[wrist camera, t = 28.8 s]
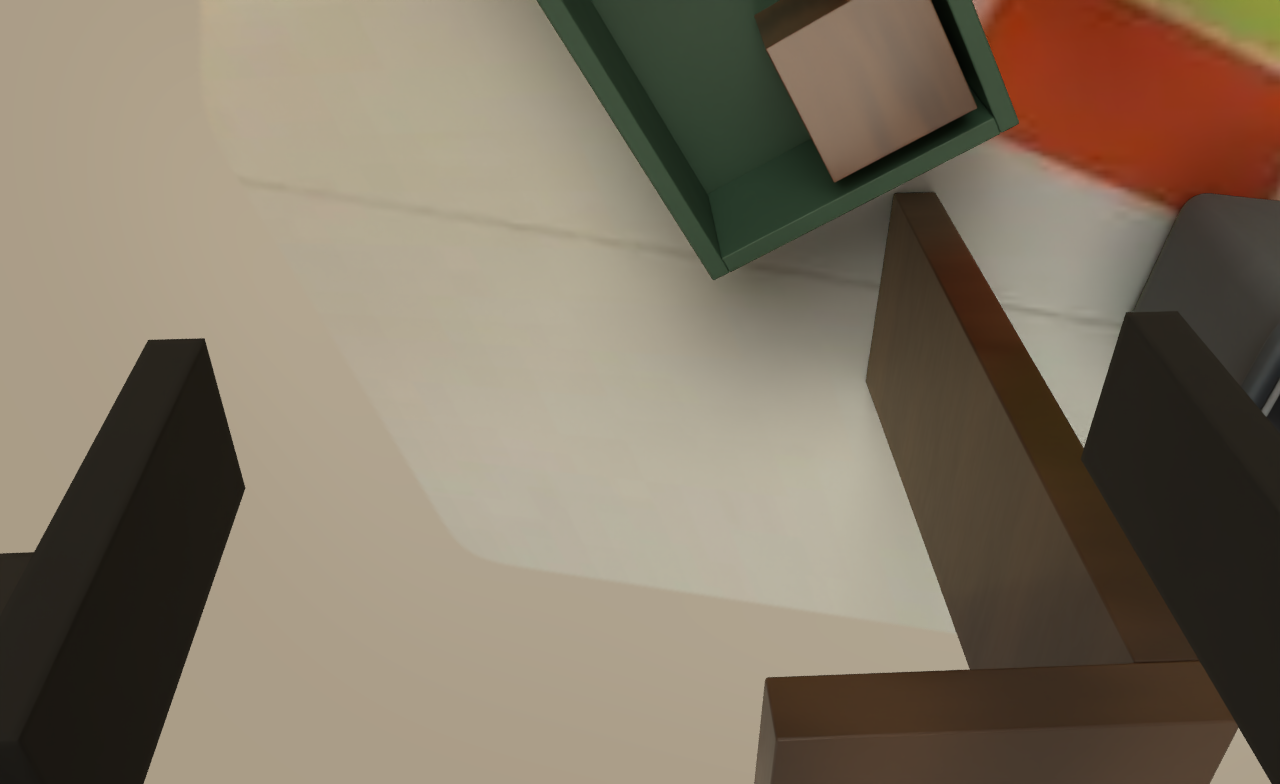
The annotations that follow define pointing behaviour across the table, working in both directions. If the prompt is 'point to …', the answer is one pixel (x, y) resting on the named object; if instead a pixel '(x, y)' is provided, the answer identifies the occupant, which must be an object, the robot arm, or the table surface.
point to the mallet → (864, 74)
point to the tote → (746, 118)
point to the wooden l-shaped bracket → (998, 573)
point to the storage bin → (1227, 287)
